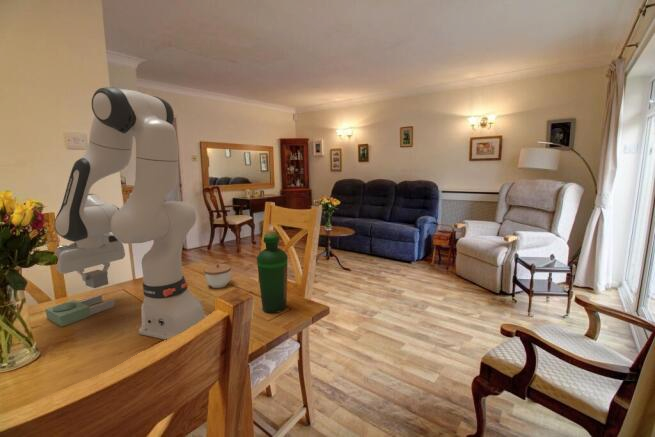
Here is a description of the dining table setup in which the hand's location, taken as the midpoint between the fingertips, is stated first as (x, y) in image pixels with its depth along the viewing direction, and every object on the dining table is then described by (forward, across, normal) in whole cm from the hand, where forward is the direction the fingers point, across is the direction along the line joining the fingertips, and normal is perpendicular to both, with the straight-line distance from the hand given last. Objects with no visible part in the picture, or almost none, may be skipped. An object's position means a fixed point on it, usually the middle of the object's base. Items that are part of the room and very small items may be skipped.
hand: (95, 277), depth 112 cm
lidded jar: (+11, +35, -23) cm, 43 cm away
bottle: (+10, +30, -57) cm, 65 cm away
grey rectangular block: (+3, 0, -1) cm, 3 cm away
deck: (+11, -5, 0) cm, 12 cm away
